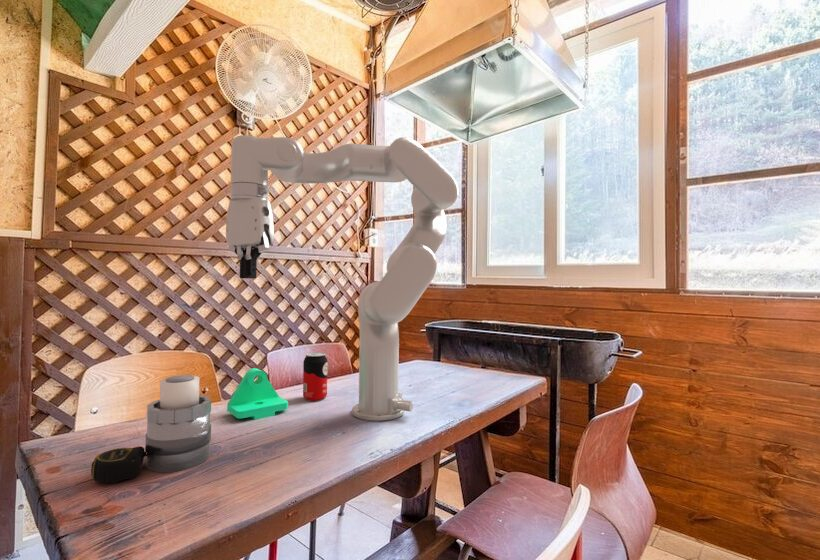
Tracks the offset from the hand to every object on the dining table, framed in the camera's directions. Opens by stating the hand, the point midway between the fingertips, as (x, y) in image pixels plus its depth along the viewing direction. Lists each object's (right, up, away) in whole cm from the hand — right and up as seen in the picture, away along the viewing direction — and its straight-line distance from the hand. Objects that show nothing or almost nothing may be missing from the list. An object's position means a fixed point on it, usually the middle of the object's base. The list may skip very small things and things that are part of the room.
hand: (248, 278), depth 89 cm
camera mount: (-1, -33, +8) cm, 33 cm away
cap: (-5, -24, -18) cm, 30 cm away
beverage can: (+10, -33, +20) cm, 40 cm away
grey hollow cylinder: (-5, -32, -18) cm, 37 cm away
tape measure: (-11, -32, -24) cm, 41 cm away
